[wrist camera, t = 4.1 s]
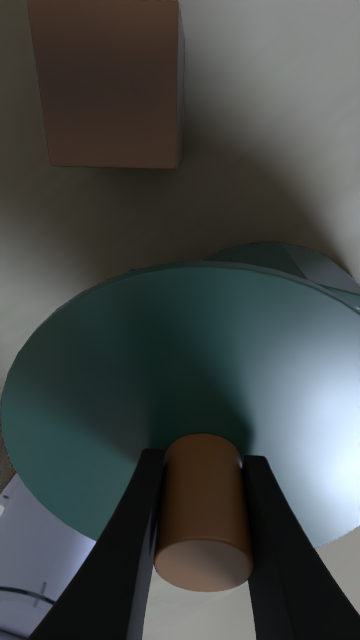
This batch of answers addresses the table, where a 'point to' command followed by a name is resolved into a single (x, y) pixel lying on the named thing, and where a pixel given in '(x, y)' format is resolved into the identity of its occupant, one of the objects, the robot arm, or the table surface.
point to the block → (111, 81)
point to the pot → (295, 266)
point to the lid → (192, 408)
